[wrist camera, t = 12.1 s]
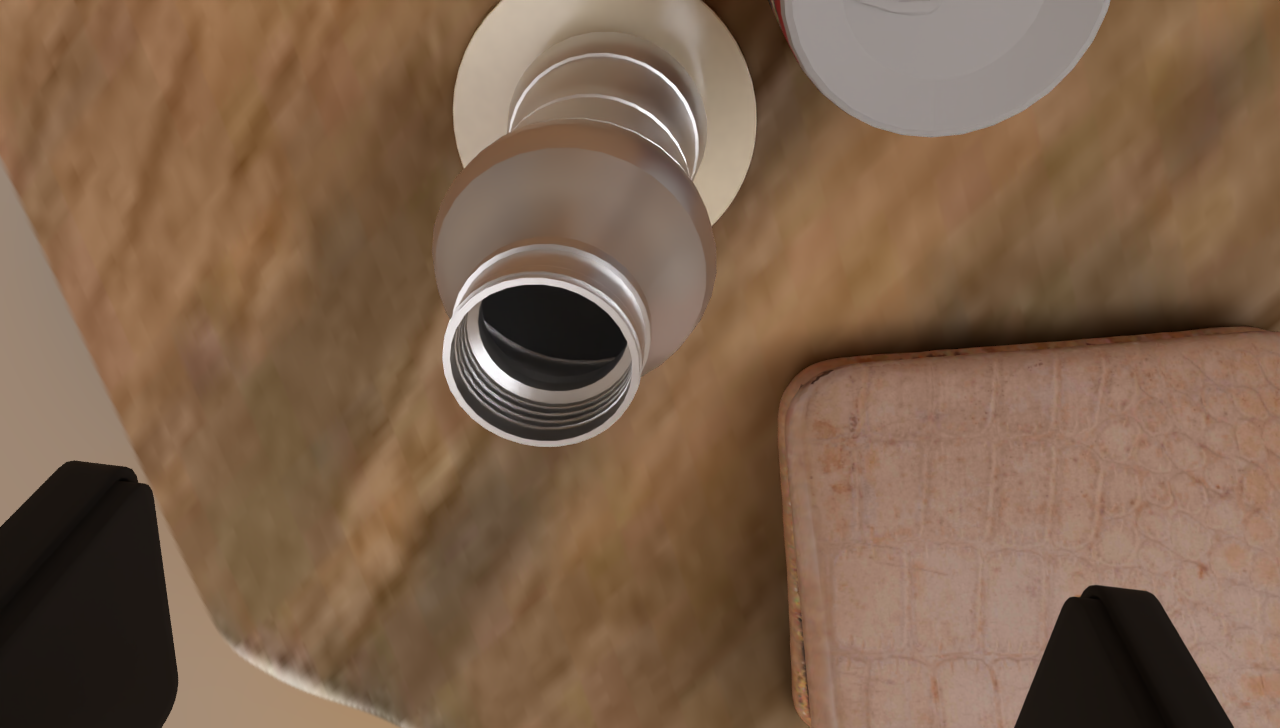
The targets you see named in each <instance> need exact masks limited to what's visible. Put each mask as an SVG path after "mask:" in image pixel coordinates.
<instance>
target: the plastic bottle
mask: <svg viewBox="0 0 1280 728" xmlns="http://www.w3.org/2000/svg"><path fill="white" fill-rule="evenodd" d="M706 142H707V117H706V112H705V108H704V103H703V100H702V98H701V95H700V93H699V91H698V89H697V86H696V84H695V82H694V81H693V79H692V78H691V77H690V75H689V74H688V72H687V71H686V70H685V68H684V67H683V66H682V65H681V64H680V63H679V62H678V61H677V60H676V59H675V58H674V57H672V56H671V55H670V54H669V53H668V52H666V51H665V50H663V49H661V48H660V47H658V46H657V45H655V44H653V43H652V42H650V41H647V40H645V39H642V38H640V37H637V36H634V35H631V34H625V33H619V32H590V33H586V34H581V35H577V36H573V37H570V38H568V39H566V40H564V41H561V42H559V43H557V44H555V45H553V46H552V47H550V48H549V49H548V50H546V51H545V52H543V53H542V54H541V55H539V56H538V57H537V58H536V59H535V60H534V62H533V63H532V64H531V65H530V66H529V67H528V68H527V69H526V70H525V72H524V74H523V75H522V77H521V79H520V81H519V82H518V84H517V86H516V88H515V91H514V94H513V97H512V100H511V103H510V108H509V117H508V127H507V134H506V135H504V136H502V137H500V138H499V139H497V140H496V141H495V142H493V143H492V144H490V145H489V146H488V147H486V148H485V149H483V150H482V151H481V152H480V153H479V154H478V155H477V156H476V157H475V158H474V159H473V160H472V161H471V162H470V163H469V164H468V165H467V166H466V167H465V168H464V169H463V171H462V172H461V173H460V174H459V175H458V176H457V177H456V178H455V179H454V181H453V183H452V184H451V186H450V188H449V190H448V191H447V193H446V195H445V197H444V198H443V200H442V202H441V205H440V208H439V211H438V215H437V218H436V221H435V224H434V232H433V245H432V255H433V262H434V270H435V277H436V282H437V287H438V291H439V294H440V297H441V300H442V302H443V305H444V308H445V311H446V313H447V315H448V316H449V318H450V321H449V324H448V327H447V330H446V333H445V336H444V346H443V366H444V373H445V377H446V379H447V382H448V385H449V387H450V390H451V392H452V393H453V395H454V397H455V398H456V400H457V401H458V403H459V405H460V406H461V407H462V408H463V409H464V410H465V411H466V412H467V413H468V415H469V416H470V417H471V418H472V419H474V420H475V421H476V422H478V423H479V424H480V425H482V426H483V427H484V428H485V429H487V430H489V431H491V432H493V433H495V434H497V435H498V436H500V437H502V438H505V439H508V440H511V441H514V442H517V443H520V444H526V445H532V446H539V447H558V446H564V445H570V444H575V443H578V442H581V441H584V440H587V439H590V438H592V437H594V436H596V435H598V434H599V433H601V432H603V431H604V430H606V429H608V428H609V427H610V426H611V425H612V424H613V423H615V422H616V421H617V420H618V419H619V418H620V417H621V416H622V414H623V413H624V412H625V410H626V409H627V408H628V406H629V405H630V403H631V401H632V400H633V397H634V395H635V393H636V391H637V388H638V386H639V383H640V377H642V376H643V375H645V374H647V373H649V372H650V371H652V370H654V369H655V368H657V367H659V366H660V365H661V364H662V363H664V362H665V361H666V360H667V359H668V358H669V357H670V356H671V355H673V354H674V353H675V352H676V351H677V350H678V349H679V348H680V346H681V345H682V344H683V343H684V341H685V340H686V339H687V337H688V336H689V335H690V333H691V332H692V331H693V329H694V328H695V327H696V325H697V324H698V323H699V321H700V320H701V318H702V316H703V314H704V312H705V309H706V307H707V305H708V303H709V301H710V299H711V296H712V291H713V286H714V281H715V277H716V244H715V240H714V236H713V231H712V227H711V222H710V219H709V216H708V212H707V209H706V207H705V205H704V203H703V201H702V198H701V196H700V194H699V192H698V190H697V188H696V186H695V185H694V183H693V181H694V178H695V176H696V174H697V171H698V169H699V167H700V164H701V162H702V159H703V157H704V153H705V147H706Z"/></svg>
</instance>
